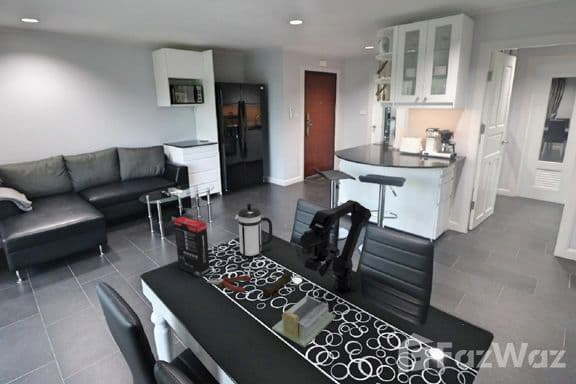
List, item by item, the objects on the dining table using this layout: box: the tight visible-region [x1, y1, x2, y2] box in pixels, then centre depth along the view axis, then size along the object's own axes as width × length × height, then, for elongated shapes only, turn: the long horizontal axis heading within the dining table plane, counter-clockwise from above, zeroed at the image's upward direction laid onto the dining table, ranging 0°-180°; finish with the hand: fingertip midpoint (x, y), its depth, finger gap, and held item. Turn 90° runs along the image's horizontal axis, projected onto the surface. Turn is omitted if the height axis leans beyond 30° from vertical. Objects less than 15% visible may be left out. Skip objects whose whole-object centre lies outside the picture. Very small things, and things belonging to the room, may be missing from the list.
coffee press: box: [234, 203, 273, 260], centre depth 175 cm, size 17×16×30 cm
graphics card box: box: [173, 216, 211, 278], centre depth 157 cm, size 17×7×27 cm, turn 58°
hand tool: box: [262, 271, 292, 298], centre depth 145 cm, size 19×4×5 cm, turn 142°
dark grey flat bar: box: [293, 298, 319, 321], centre depth 120 cm, size 14×4×1 cm, turn 142°
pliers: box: [206, 275, 252, 293], centre depth 148 cm, size 12×20×3 cm, turn 79°
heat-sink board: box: [271, 294, 336, 349], centre depth 120 cm, size 21×15×9 cm
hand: (322, 276), depth 132 cm, fingers closed
